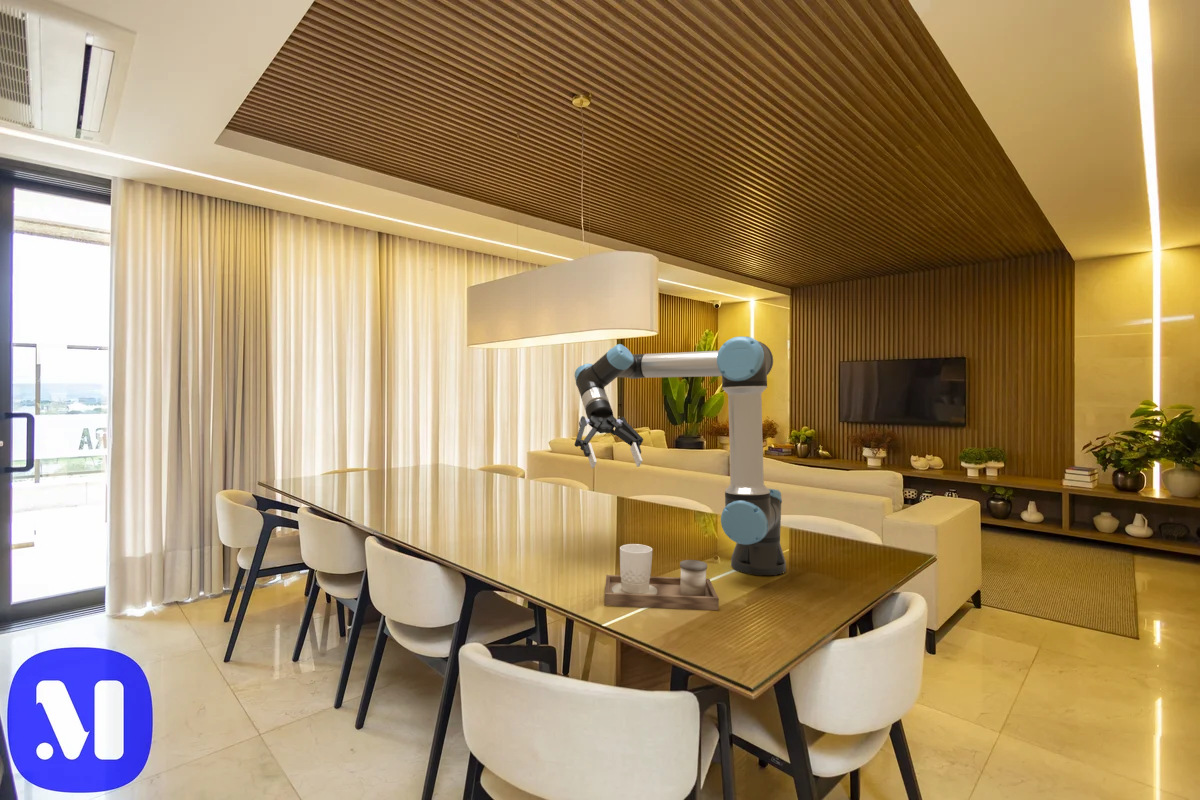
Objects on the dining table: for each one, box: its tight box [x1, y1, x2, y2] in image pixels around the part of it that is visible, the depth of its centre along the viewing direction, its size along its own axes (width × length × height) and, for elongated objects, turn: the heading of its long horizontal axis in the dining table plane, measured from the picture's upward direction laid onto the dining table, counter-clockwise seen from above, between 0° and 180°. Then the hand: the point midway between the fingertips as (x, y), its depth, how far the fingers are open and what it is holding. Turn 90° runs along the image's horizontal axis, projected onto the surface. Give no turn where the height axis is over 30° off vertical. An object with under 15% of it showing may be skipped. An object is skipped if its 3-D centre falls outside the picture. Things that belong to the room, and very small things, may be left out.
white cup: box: [619, 543, 653, 594], centre depth 139 cm, size 8×8×10 cm
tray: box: [604, 559, 720, 611], centre depth 138 cm, size 26×14×8 cm, turn 88°
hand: (617, 464), depth 155 cm, fingers open, 13 cm apart
